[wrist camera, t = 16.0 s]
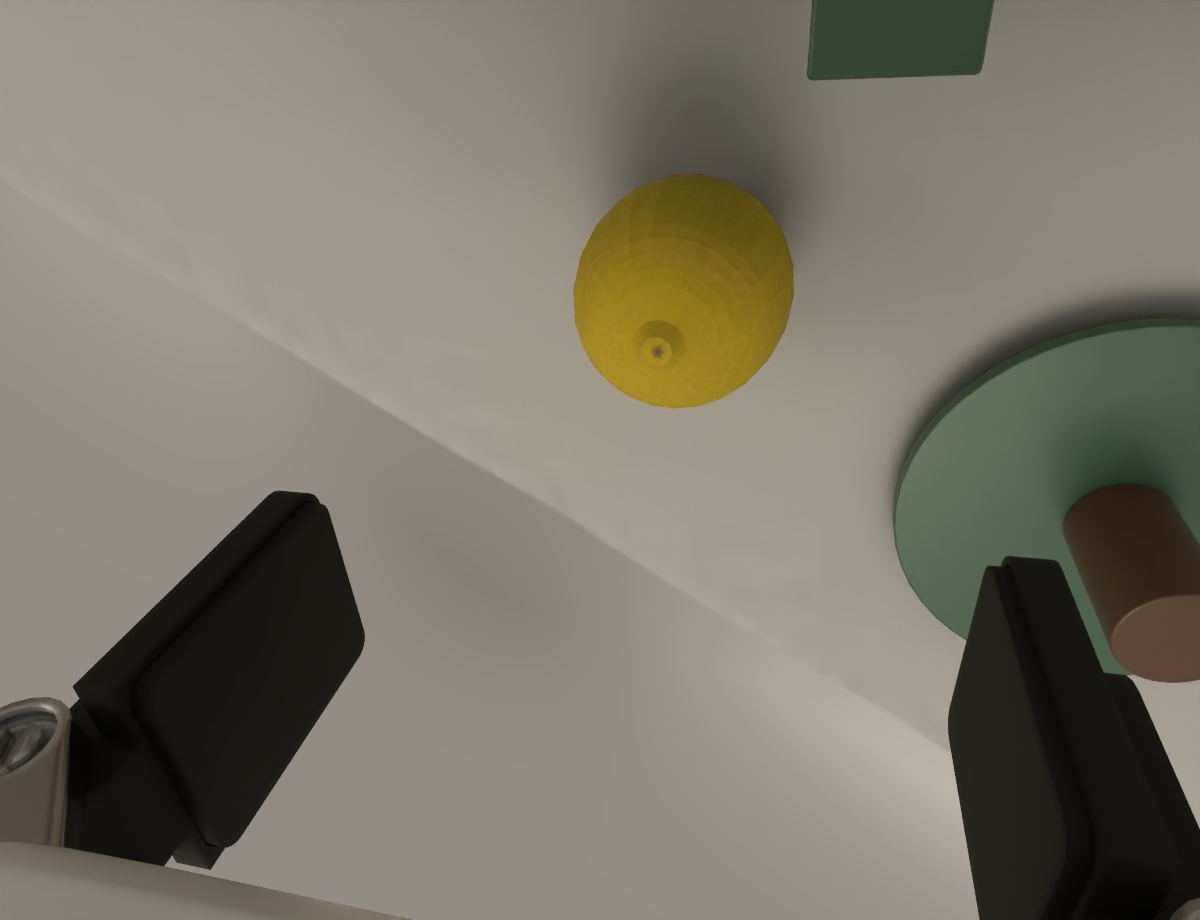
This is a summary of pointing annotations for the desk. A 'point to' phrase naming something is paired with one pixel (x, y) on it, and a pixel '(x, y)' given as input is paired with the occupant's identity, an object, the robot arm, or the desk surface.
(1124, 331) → the pot lid
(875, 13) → the pot
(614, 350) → the lemon
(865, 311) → the desk surface
